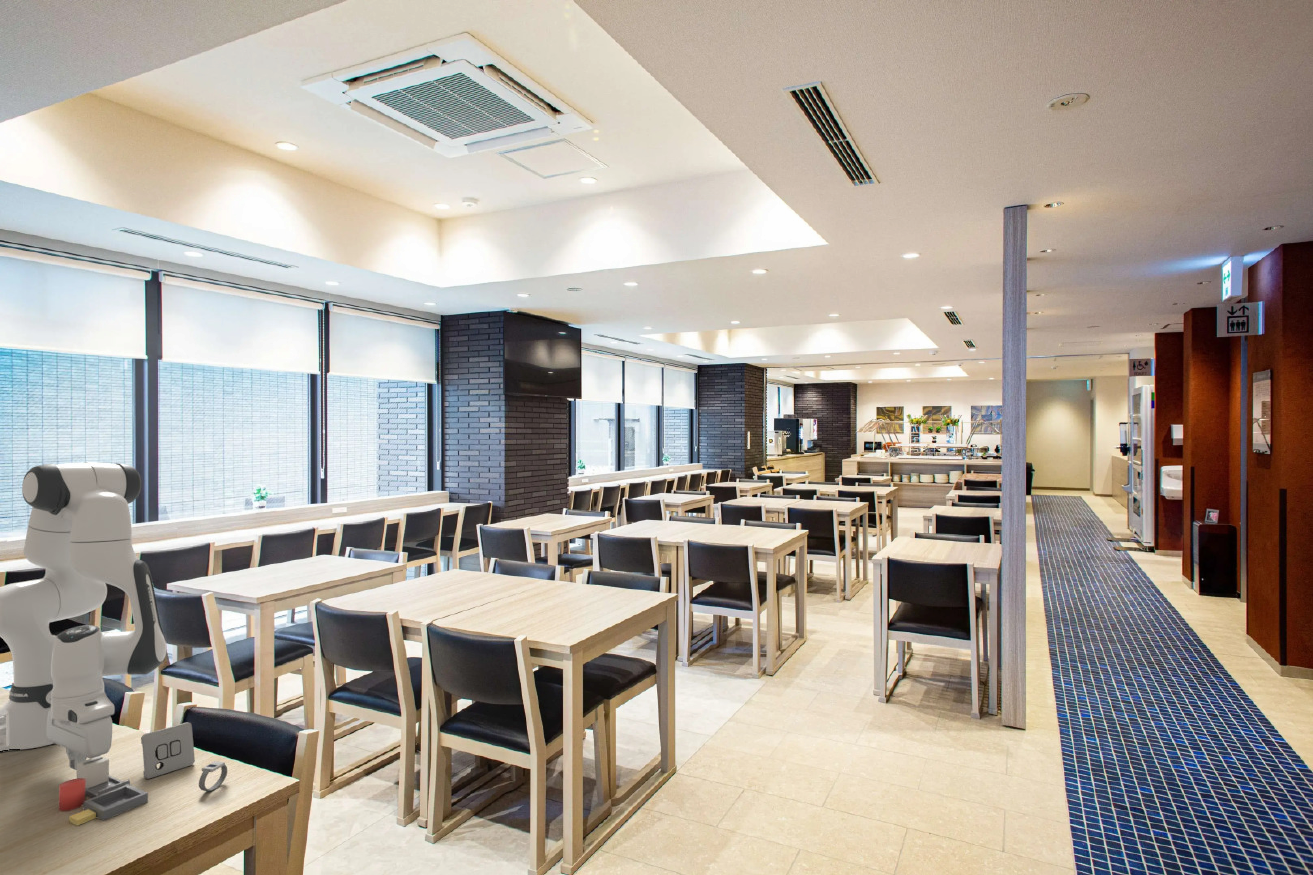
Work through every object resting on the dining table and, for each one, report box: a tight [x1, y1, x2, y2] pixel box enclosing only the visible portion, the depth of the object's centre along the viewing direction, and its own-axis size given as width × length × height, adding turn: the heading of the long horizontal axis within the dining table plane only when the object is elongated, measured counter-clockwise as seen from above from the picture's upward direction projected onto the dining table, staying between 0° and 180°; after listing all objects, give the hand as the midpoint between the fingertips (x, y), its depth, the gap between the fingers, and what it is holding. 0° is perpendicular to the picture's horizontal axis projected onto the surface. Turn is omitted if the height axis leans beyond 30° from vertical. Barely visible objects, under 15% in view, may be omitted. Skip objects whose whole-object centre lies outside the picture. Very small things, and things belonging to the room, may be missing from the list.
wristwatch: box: [198, 760, 228, 792], centre depth 142 cm, size 6×3×5 cm, turn 170°
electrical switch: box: [140, 722, 196, 780], centre depth 151 cm, size 9×5×9 cm, turn 141°
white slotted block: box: [76, 755, 110, 789], centre depth 144 cm, size 4×4×5 cm
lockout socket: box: [68, 784, 149, 826], centre depth 134 cm, size 8×11×2 cm
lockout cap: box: [58, 777, 86, 812], centre depth 136 cm, size 4×4×4 cm
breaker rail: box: [85, 775, 131, 799], centre depth 142 cm, size 13×5×2 cm, turn 63°
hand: (77, 768), depth 146 cm, fingers closed
